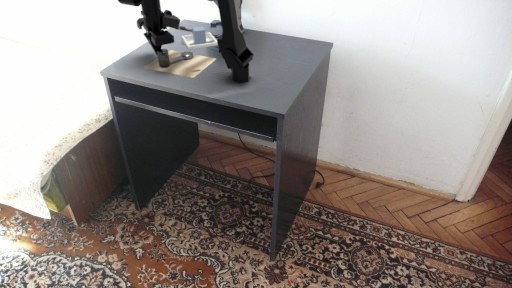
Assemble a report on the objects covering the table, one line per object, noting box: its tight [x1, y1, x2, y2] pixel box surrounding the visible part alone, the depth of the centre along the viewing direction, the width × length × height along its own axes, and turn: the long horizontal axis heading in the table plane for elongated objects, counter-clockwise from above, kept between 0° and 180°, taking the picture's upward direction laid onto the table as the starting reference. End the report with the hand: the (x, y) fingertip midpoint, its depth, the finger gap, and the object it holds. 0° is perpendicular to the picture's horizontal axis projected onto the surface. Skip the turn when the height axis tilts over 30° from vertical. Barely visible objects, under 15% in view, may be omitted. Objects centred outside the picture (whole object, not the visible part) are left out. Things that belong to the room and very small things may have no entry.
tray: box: [181, 31, 218, 50], centre depth 136 cm, size 12×12×2 cm
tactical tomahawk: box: [179, 25, 222, 39], centre depth 149 cm, size 21×7×1 cm, turn 61°
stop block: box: [191, 26, 207, 45], centre depth 135 cm, size 4×4×6 cm
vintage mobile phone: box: [234, 0, 245, 34], centre depth 140 cm, size 4×5×25 cm
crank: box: [156, 48, 194, 67], centre depth 120 cm, size 14×4×5 cm, turn 137°
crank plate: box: [143, 49, 217, 79], centre depth 121 cm, size 19×16×2 cm
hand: (158, 55), depth 120 cm, fingers closed
